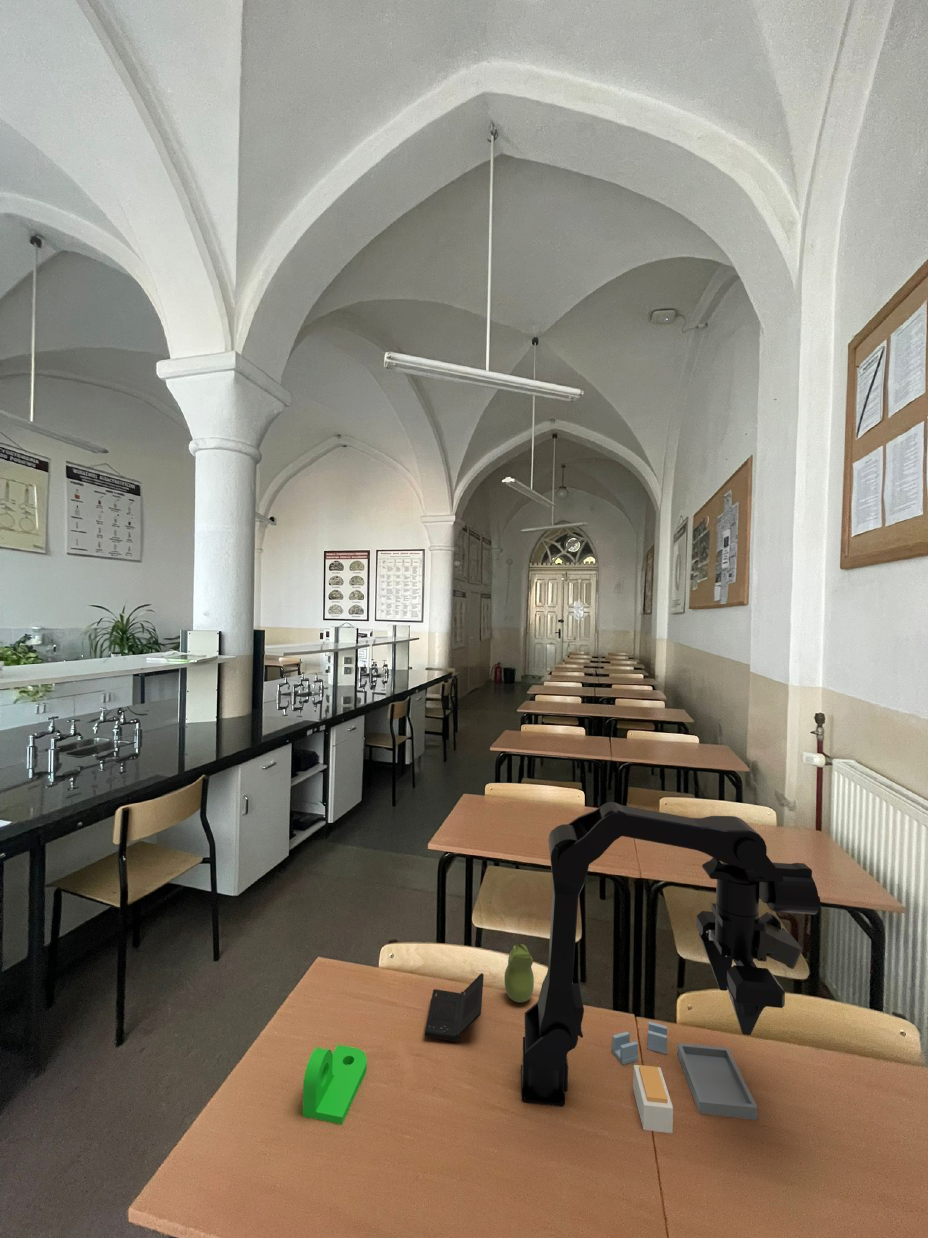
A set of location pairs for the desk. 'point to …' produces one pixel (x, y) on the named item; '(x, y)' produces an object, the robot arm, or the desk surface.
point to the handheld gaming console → (454, 1011)
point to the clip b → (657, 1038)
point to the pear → (519, 974)
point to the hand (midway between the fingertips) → (734, 1011)
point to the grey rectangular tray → (716, 1082)
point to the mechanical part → (332, 1082)
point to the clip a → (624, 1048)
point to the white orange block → (652, 1099)
